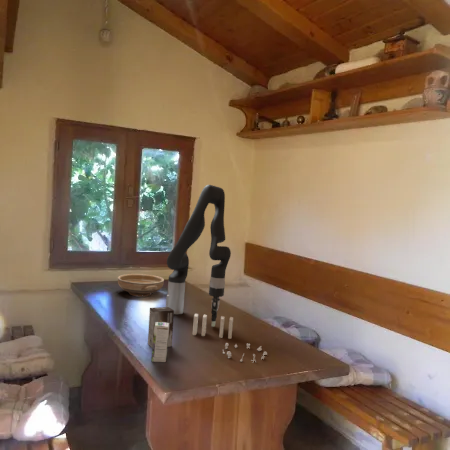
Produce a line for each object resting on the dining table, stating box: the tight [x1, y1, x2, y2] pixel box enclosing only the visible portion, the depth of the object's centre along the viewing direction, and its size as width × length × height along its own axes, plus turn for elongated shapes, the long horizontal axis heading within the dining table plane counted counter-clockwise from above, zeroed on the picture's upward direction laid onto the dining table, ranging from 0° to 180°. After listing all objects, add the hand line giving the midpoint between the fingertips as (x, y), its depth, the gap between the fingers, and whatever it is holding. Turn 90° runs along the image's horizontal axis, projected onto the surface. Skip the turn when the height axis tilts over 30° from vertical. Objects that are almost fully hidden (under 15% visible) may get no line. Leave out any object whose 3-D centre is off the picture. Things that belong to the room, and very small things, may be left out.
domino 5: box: [227, 316, 234, 340], centre depth 228 cm, size 2×5×9 cm, turn 177°
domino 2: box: [201, 313, 208, 337], centre depth 229 cm, size 2×5×9 cm, turn 177°
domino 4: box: [218, 315, 225, 339], centre depth 228 cm, size 2×5×9 cm, turn 177°
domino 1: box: [192, 313, 199, 336], centre depth 229 cm, size 2×5×9 cm, turn 177°
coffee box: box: [147, 306, 175, 348], centre depth 208 cm, size 9×6×16 cm
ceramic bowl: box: [117, 273, 165, 297], centre depth 299 cm, size 37×29×10 cm
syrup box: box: [151, 322, 169, 363], centre depth 191 cm, size 6×6×14 cm
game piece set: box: [222, 342, 268, 363], centre depth 206 cm, size 19×20×4 cm
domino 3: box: [210, 309, 216, 328], centre depth 240 cm, size 2×5×9 cm, turn 177°
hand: (213, 319), depth 240 cm, fingers closed on domino 3, 5 cm apart
